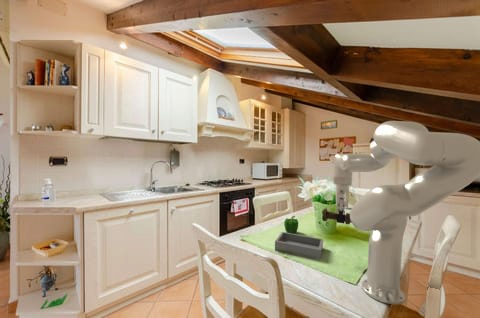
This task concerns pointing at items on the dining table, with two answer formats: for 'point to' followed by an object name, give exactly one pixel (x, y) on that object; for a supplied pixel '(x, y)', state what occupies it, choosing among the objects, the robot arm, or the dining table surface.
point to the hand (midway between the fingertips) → (340, 220)
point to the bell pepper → (291, 225)
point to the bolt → (334, 216)
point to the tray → (299, 245)
